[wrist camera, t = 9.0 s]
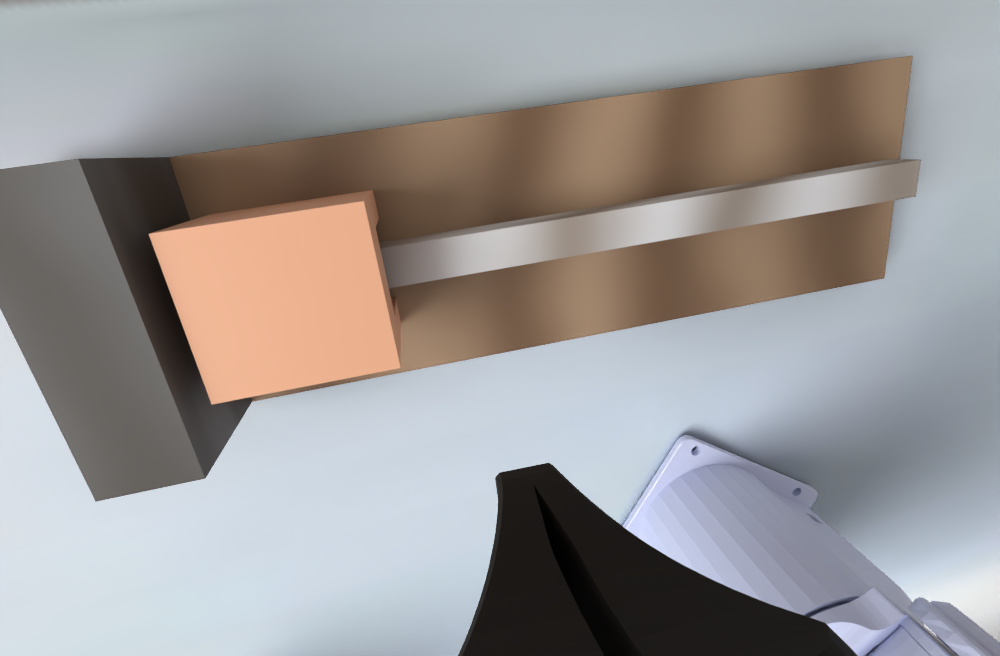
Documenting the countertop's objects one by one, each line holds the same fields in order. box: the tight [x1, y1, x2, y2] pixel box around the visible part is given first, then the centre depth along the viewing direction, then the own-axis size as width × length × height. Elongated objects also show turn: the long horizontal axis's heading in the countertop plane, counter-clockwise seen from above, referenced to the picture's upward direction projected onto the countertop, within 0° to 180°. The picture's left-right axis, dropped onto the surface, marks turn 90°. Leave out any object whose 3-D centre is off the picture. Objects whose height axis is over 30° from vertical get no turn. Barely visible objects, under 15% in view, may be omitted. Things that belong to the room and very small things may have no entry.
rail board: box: [0, 56, 921, 501], centre depth 18 cm, size 32×9×6 cm, turn 98°
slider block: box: [149, 190, 401, 404], centre depth 16 cm, size 6×5×4 cm
